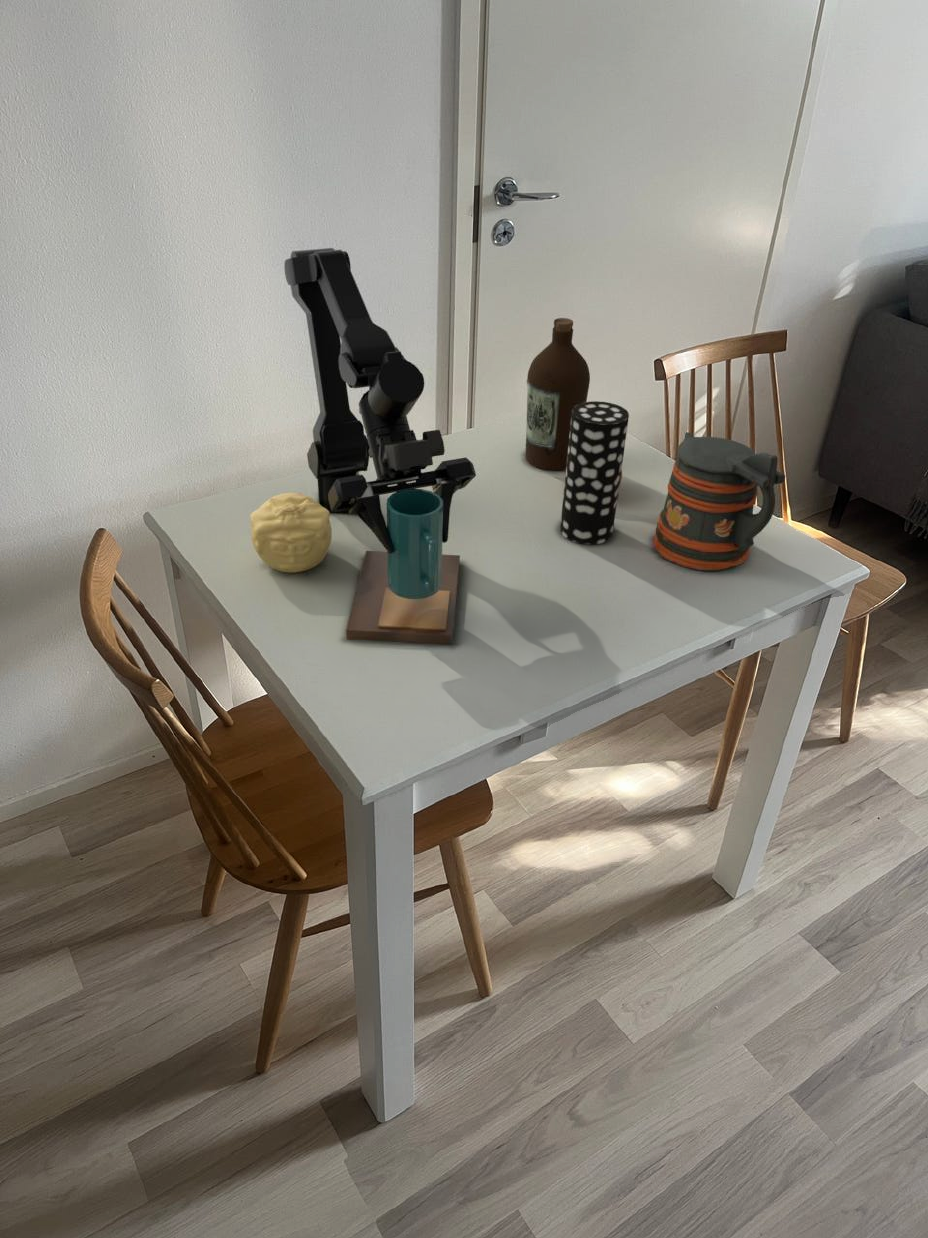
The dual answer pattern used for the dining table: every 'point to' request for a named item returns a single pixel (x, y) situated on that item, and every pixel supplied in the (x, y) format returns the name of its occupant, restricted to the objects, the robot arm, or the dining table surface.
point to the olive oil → (554, 398)
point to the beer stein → (715, 503)
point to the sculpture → (291, 532)
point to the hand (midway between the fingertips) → (418, 547)
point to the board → (402, 606)
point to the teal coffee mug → (415, 543)
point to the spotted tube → (593, 471)
